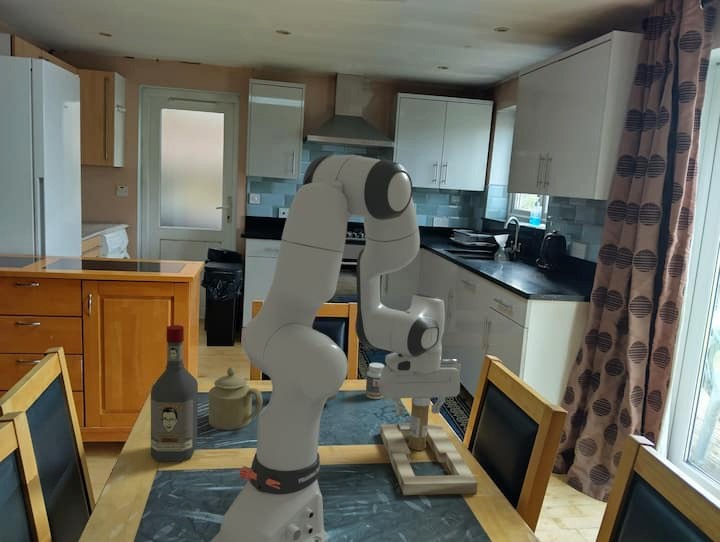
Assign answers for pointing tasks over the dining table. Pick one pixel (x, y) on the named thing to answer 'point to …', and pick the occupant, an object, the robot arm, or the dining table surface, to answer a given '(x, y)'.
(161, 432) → the liquor
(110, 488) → the dining table surface
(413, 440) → the sprinkles bottle
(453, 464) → the keyhole board
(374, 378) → the pill bottle
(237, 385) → the sugar bowl
